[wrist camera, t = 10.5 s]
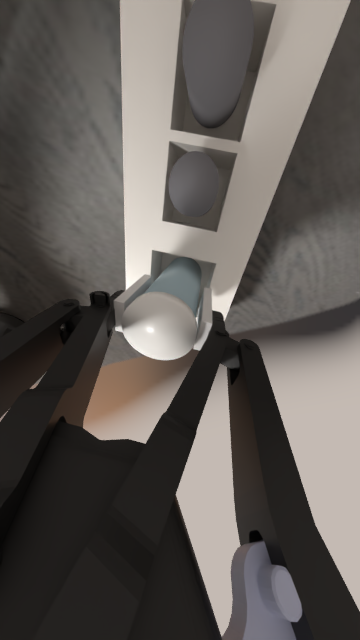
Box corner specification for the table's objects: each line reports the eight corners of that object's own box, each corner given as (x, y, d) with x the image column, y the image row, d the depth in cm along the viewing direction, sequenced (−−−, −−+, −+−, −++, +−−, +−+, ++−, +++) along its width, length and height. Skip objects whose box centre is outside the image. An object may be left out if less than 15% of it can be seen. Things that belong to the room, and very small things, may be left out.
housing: (216, 313, 27) (218, 335, 22) (142, 296, 27) (126, 314, 22) (301, 73, 13) (356, -15, 8) (151, 48, 14) (118, -48, 9)
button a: (210, 220, 18) (211, 220, 13) (178, 213, 18) (165, 211, 13) (220, 176, 16) (226, 156, 11) (184, 169, 16) (172, 146, 11)
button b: (228, 146, 15) (238, 106, 10) (188, 138, 15) (177, 95, 10) (243, 78, 13) (267, -18, 8) (197, 71, 13) (189, -30, 8)
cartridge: (198, 295, 24) (187, 366, 13) (164, 288, 25) (122, 351, 13) (207, 259, 21) (204, 308, 10) (168, 251, 22) (119, 289, 10)
